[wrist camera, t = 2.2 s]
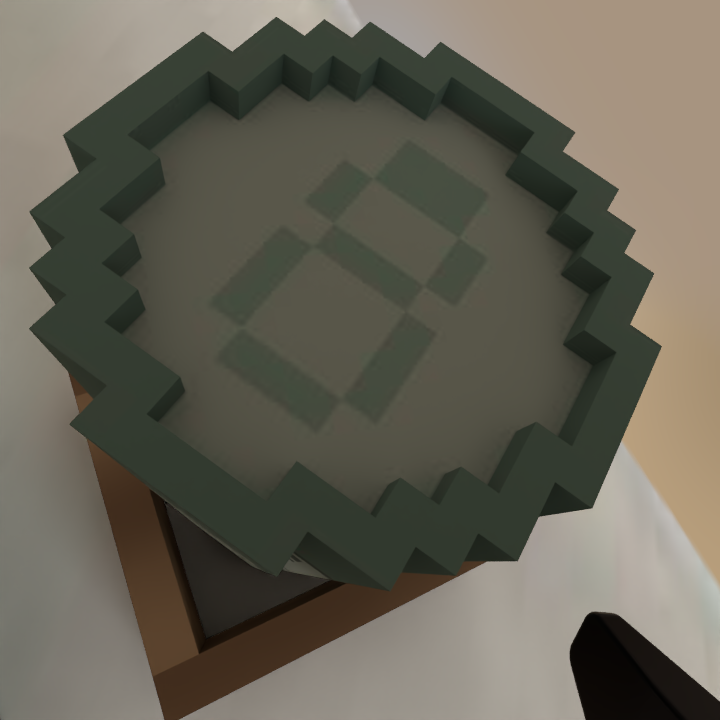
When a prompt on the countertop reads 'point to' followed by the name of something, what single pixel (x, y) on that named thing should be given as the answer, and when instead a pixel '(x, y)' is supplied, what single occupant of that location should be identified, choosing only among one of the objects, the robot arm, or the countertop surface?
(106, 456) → the holder
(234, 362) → the can
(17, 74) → the countertop surface
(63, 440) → the countertop surface
